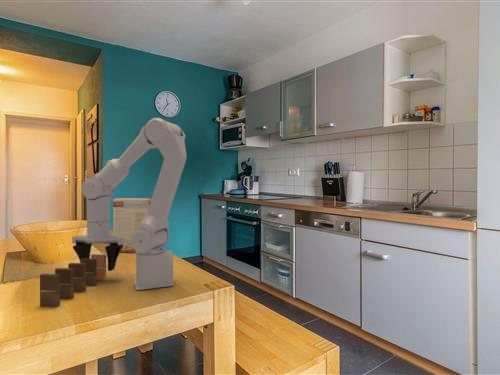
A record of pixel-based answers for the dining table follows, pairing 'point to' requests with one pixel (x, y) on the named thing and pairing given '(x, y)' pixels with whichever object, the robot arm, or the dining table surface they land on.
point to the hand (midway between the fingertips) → (98, 269)
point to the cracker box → (128, 218)
